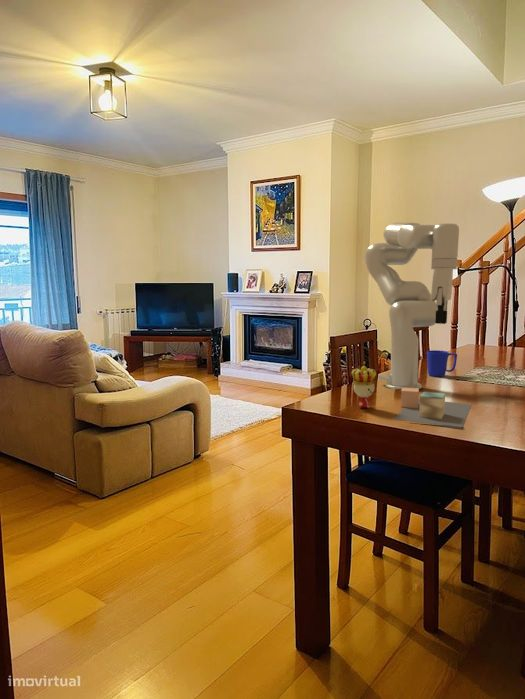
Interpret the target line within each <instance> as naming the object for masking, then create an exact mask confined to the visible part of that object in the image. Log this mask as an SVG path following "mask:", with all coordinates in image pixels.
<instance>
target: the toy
mask: <svg viewBox="0 0 525 699" xmlns="http://www.w3.org/2000/svg"><path fill="white" fill-rule="evenodd" d="M363 364H364V365H363V366H361V368H354V369H353V370H352V371H351V376H352V378H353V381H352V384H353V392H354V393H355V395H356V396H358V397H360V398H361V399H360V400H359V401H358V402H357V403H358V407H360V410H366V409H367V408H369V407H370V404H369V403H370V401H371V398H370V396H371V395H373V393H374V391H375V377H376V376H377V372H376V370H375V369H374V368H373V369H372V368H367V366H366V365H365V364H366V361H365V360H364V361H363Z"/></svg>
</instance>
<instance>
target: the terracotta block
mask: <svg viewBox="0 0 525 699" xmlns="http://www.w3.org/2000/svg"><path fill="white" fill-rule="evenodd" d="M419 391H420V389H419V388H402V390H400V393H401V394H400V407H401V408H404V407H409V408H418V399H419V397H420V395H419V394H420V392H419Z"/></svg>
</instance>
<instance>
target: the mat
mask: <svg viewBox="0 0 525 699" xmlns="http://www.w3.org/2000/svg"><path fill="white" fill-rule="evenodd" d="M472 405H473V404H472V403H463V402H455V401H454V402H453V401H445V414H444V416H443V417H442V419H437V418H428V417H419V408H420V398H418V408H409V407H402V409H401V410H400V411H399V412H398V413H397V415H395V416H394V417H393V418H392V420H395V421H403V422H410V424H414V425H420V426H421V425H422V426H431V427H439V428H448V429H449V428H450V429H456V430H457V429H458V430H463V428H464V424H465V422H466V419H467V417H468V415H469V412H470V410H471V409H472V408H471V407H472Z"/></svg>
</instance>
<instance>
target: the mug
mask: <svg viewBox="0 0 525 699" xmlns="http://www.w3.org/2000/svg"><path fill="white" fill-rule="evenodd" d="M450 356H454V359H453V360H454V361H453V365H452V367H451V369H447V367H448V359H449V357H450ZM457 359H458V354H457V353H454V352H448V351H447V350H435V349H434V350H427V351H426V362H427V363H426V364H427V375H429V377H430V376H431V377H437V378H438V377H440V378H441V377H445V375H446V372H447V373H451V372H454V370H455V368H456V365H457Z"/></svg>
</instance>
